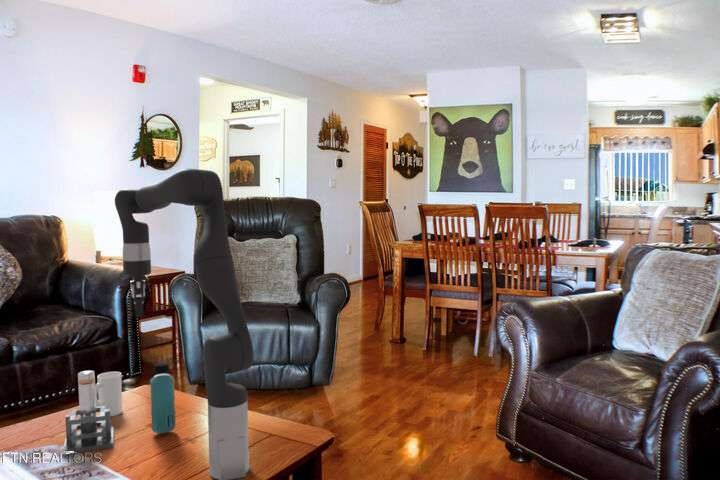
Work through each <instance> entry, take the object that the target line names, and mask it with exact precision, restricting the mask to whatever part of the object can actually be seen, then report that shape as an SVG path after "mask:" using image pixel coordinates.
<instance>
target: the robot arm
mask: <svg viewBox="0 0 720 480" xmlns="http://www.w3.org/2000/svg"><path fill="white" fill-rule="evenodd" d="M224 200H225V199H224V193H223V186H222V182H221V178H220V177H219V174H217V172H215V171H212V170H208V169H207V170H206V169H199V168H198V169H197V168H184V169H181V170H179V171H177V172H175V173H173V174H172V175H170V176H168V177H167V178H165V179H163V180H162V181H161V180H160V181H159V182H155V183H151V184H146V185H145V186H143V187H140V188H138V189H137V188H132V189H131V188H129V189H128V188H124V189H120V190H118V191H117V192H116V194H115V197H114V206H115V209H116V212H117V214H118V218H119V222H120V225H121V229H122V243H123V244H122V267H123V268H122V270H123V271H122V272H123V275H124V276H126V277H131V279H132V280H130V289H131V297H132V298H133V305H134V309H133V310H134V314H135V315H134V316H135V318H142V317H144V303H145V299H144V298H145V296H146V280H144V279H143V276H149V275H151V274H152V260H151V259H152V256H151V253H152V252H151V246H150V228H149V225H148V223H146V222H143V221H137V220H136V219H135V217H134V214H135V215H137V214H149V213H152V212H153V211H156V210H161V209H164V208H166V207H168V206H170V205H171V204H172V203H173V204H180V205H184V206H190V207H202V209H203V215H204V228H203V231H202V234H201V236H200V239H199V241H198V243H197V246H196V248H195V252H194V255H193V264H194V270H195V274H196V275H195V276H196V280H197V284H198V286H199V288H200V289H201V292H203V293H204V295H205V296H206V297H207V299H209V300H210V301H211V303H212V304H213V305H214V306H215V307H216V308H217V309H218V311H219V312H220V314H221V315H222V316H223V319H224V321H225V323H226V326H227V330H228V333H226V334H219V335H213V336H209V337H207V339H206V340H205V342H204V344H203V349H202V350H203V351H202V352H203V353H202V354H203V355H202V356H203V359H202V360H203V367H204V380H205V381H204V383H205V391H206V397H207V421H208V422H207V427H208V428H207V429H208V430H207V431H208V457H209V458H208V461H209V475H210V477H212V478H214V479H215V480H235V479H241V478H246V477H247V473H248V472H249V471H250V461H249V459H250V458H249V454H250V453H249V452H250V451H249V423H248V422H249V417H248V416H249V415H248V414H249V413H248V411H249V409H248V408H249V407H248V390H247V388H246V387H245V386H244V385H241V384H239V383H234V382H232V383H231V382H227V378H226V377H227V376H226V375H228V374H233V373H238V372H243V371H247V370H249V369H250V368H251V367H252V366H253V364H254V363H253V362H254V358H255V357H254V355H255V354H254V347H253V342H252V339H251V334H250V331H249V327H248V324H247V319H246V317H245V316H246V315H245V314H244V310H243V306H242V302H241V301H242V300H241V297H240V292H239V287H238V286H239V285H238V281H237V276H236V275H237V274H236V268H235V264H234V259H233V254H232V250H231V246H230V240H229V234H228V229H227V228H228V227H227V222H226V213H225V211H226V210H225V203H224V202H225V201H224Z"/></svg>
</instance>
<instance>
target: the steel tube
mask: <svg viewBox="0 0 720 480" xmlns="http://www.w3.org/2000/svg"><path fill="white" fill-rule="evenodd" d="M77 382H78V383H77V384H78V403H79V406H78V407H79V409H80V415H79V418H81V417H89V416H96V415H97V412H96V395H95V384H96V377H95V370H83V371H80V372H78V373H77ZM80 427H81V430H80V431H81V433H86V432H93V431H97V429H98V427H97V421H96V422H89V423H82V424H80ZM96 438H97V437H93V438H87V439H81V440H82V441H91V440H94V439H96Z"/></svg>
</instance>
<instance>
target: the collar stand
mask: <svg viewBox="0 0 720 480" xmlns="http://www.w3.org/2000/svg"><path fill="white" fill-rule="evenodd" d="M96 413H99V414H96V416H89V417H81V418H80V417H77V416H78V415H79V416H80V408H78V409H77V408H76V409H75V408H74V409H72V410H71V413H68V414H65V417H64V418H65V434H66V435H65V438H64V442H63V447H62V451H74V452H77V453H76V454H78V453H79V454H80V453H86V452H92V451H98V450H104V449H105V450H106V449H111V448H114V438H115V437H114V435H115V432H114V426H112V425H111V424H112V423H111V416H110V409H106V406H98V407H96ZM96 421H97V431H93V432H86V433H81V427H80V424H82V423H89V422H96ZM79 430H80V431H79ZM93 437H97V438H96V439H94V440H91V441H82V440H81V439H87V438H93ZM62 451H61V452H62Z"/></svg>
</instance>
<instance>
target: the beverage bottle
mask: <svg viewBox="0 0 720 480" xmlns="http://www.w3.org/2000/svg"><path fill="white" fill-rule="evenodd" d="M169 371H170V365H169V363H168V362H163V361H162V362H157V363H155V364H153V373H155V375H154V376H153V377H151V379H150V380H149V384H150V407H151V408H150V413H151V414H150V415H151V429H152V432H153V433H157V434H164V433H165V434H166V433H169V432H172V431H174V430H175V429H176V421H177V419H176V416H177V414H176V408H175V407H176V405H175V400H176V399H175V398H176V397H175V396H176V395H175V385H174V376H172V375H171V374H170V373H168V372H169Z"/></svg>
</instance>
